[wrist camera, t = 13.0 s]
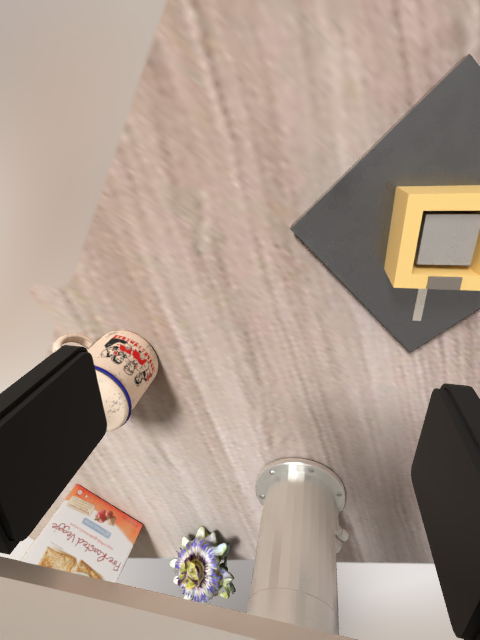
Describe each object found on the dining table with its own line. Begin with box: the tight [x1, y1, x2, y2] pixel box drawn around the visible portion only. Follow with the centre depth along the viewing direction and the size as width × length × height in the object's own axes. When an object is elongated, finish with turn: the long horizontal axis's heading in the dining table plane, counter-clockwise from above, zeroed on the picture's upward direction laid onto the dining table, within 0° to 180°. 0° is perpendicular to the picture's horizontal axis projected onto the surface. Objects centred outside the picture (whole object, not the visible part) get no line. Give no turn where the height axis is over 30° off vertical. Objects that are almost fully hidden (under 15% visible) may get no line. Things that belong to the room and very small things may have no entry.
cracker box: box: [20, 484, 143, 583], centre depth 55 cm, size 14×6×21 cm, turn 56°
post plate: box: [290, 54, 480, 352], centre depth 31 cm, size 18×18×6 cm
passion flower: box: [170, 526, 235, 604], centre depth 59 cm, size 11×11×12 cm
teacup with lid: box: [53, 330, 158, 432], centre depth 42 cm, size 12×9×12 cm
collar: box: [384, 185, 480, 291], centre depth 29 cm, size 7×7×5 cm
